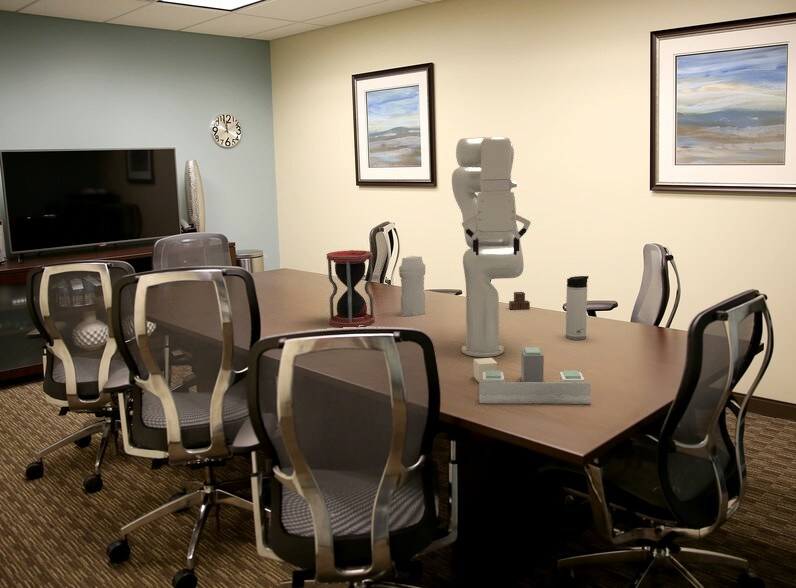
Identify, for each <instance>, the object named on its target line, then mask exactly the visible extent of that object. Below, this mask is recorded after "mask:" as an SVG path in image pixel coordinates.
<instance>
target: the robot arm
mask: <svg viewBox="0 0 796 588" xmlns="http://www.w3.org/2000/svg"><path fill="white" fill-rule="evenodd" d="M514 154H515V150H514V146H513V143H512V142H511V140H510V138H508V137H507V136H506V137H505V136H490V137H489V136H488V137H486V136H481V137H480V136H479V137H466V138H465V137H464V138H460V139H459V140H458V142H457V145H456V149H455V159H456V162H457V164H458V166H459V167H457V168H455V169H454V170H453V171H452V175H451V187H452V193H453V196H454V199H455V202H456V203H457V206H458V208H459V210H460V212H461V214H462V222H461V226H462V227H463V232H464V238H465V239H464V240H465V242H466V245H467V246H468V247H469V248H468V249H467V250H465V252H464V254H463V257H462V265H463V266H462V267H463V271H464V272H463V273H464V280H465V293H466V294H465V295H466V296H465V297H466V298H465V303H466V305H465V306H466V309H465V314H466V316H465V317H466V326H465V327H466V344H465V345H464V344H463V345H462V346H461V352H462V354H464V355H466V356H470V357H477V358H492V357H497V356H500V355H502V354H503V353H504V352H505V348H504V346H503V345H501V344H499V343H500V342H499V339H500V337H499V334H500V331H499V330H500V324H499V321H500V315H499V313H500V312H499V311H500V309H499V308H500V307H499V306H500V301H499V299H500V297H499V292H498V290H497V288H496V287H495V285H493V284H492V282H491V281H490V280H495V279H496V280H497V279H515V278H518V277H520V276H521V275H522V274H523V272H524V265H525V263H524V256H523V255H524V253H523V250H522V244H521V238H522V237H523V236H524V235H525V234H526V233H527V231H528V230H529V228H530V226H531V223H532V222H531V221H530V220H529V219H527V218H524V217H523V216H520V215H519V214H517V206H516V197H515V192H514V191H512V189H514V188H517V185H518V184H517V181H512V170H513V163H514V156H515V155H514ZM476 193H477V194H476ZM517 222H520V223H521V224H523V226H522V228H521V229H520V230H519V228H518V225H517Z"/></svg>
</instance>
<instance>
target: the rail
mask: <svg viewBox="0 0 796 588" xmlns="http://www.w3.org/2000/svg"><path fill="white" fill-rule="evenodd" d="M478 383H479V385H478V386H479V388H478V389H479V391H478V393H479V394H478V395H479V397H478V398H479V401H478V402H479V404H512V405H513V404H516V405H517V404H518V405H519V404H522V405H523V404H529V405H530V404H532V403H534V404H533V405H535V404H541V405H542V404H544V405H546V404H547V405H548V404H549V405H550V404H551V405H552V404H553V405H554V404H555V405H557V404H561V405H563V404H564V405H566V404H567V405H568V404H569V405H573V404H574V405H575V404H577V405H579V404H580V405H590V404H591V382H590V381H588V382H587V381H584V382H560V381H556V382H554V381H552V382H551V381H545V382H544V381H543V382H522V381H504V382H478Z"/></svg>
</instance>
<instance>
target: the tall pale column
mask: <svg viewBox="0 0 796 588" xmlns="http://www.w3.org/2000/svg"><path fill="white" fill-rule="evenodd" d="M401 259H402V260H401V265H400V266H399V267H398V272H399V273H398V274H399V278H400V286H401V296H400V313H401V314H400V316H401V317H405V318H406V317H416V316H420V315H425V314H426V295H425V291H424V290H425V275H426V264H425V263H424V261H423V257H422V256H418V255H409V256H406V257H402V258H401Z"/></svg>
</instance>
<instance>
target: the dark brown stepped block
mask: <svg viewBox="0 0 796 588" xmlns="http://www.w3.org/2000/svg"><path fill="white" fill-rule="evenodd" d="M530 303H531V301H529V300H527V299H526V293H525V292H524V291H513V300H509V301H508V309H509V310H510V311H527V310H528V311H529V310H530V308H531V306H530Z"/></svg>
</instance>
